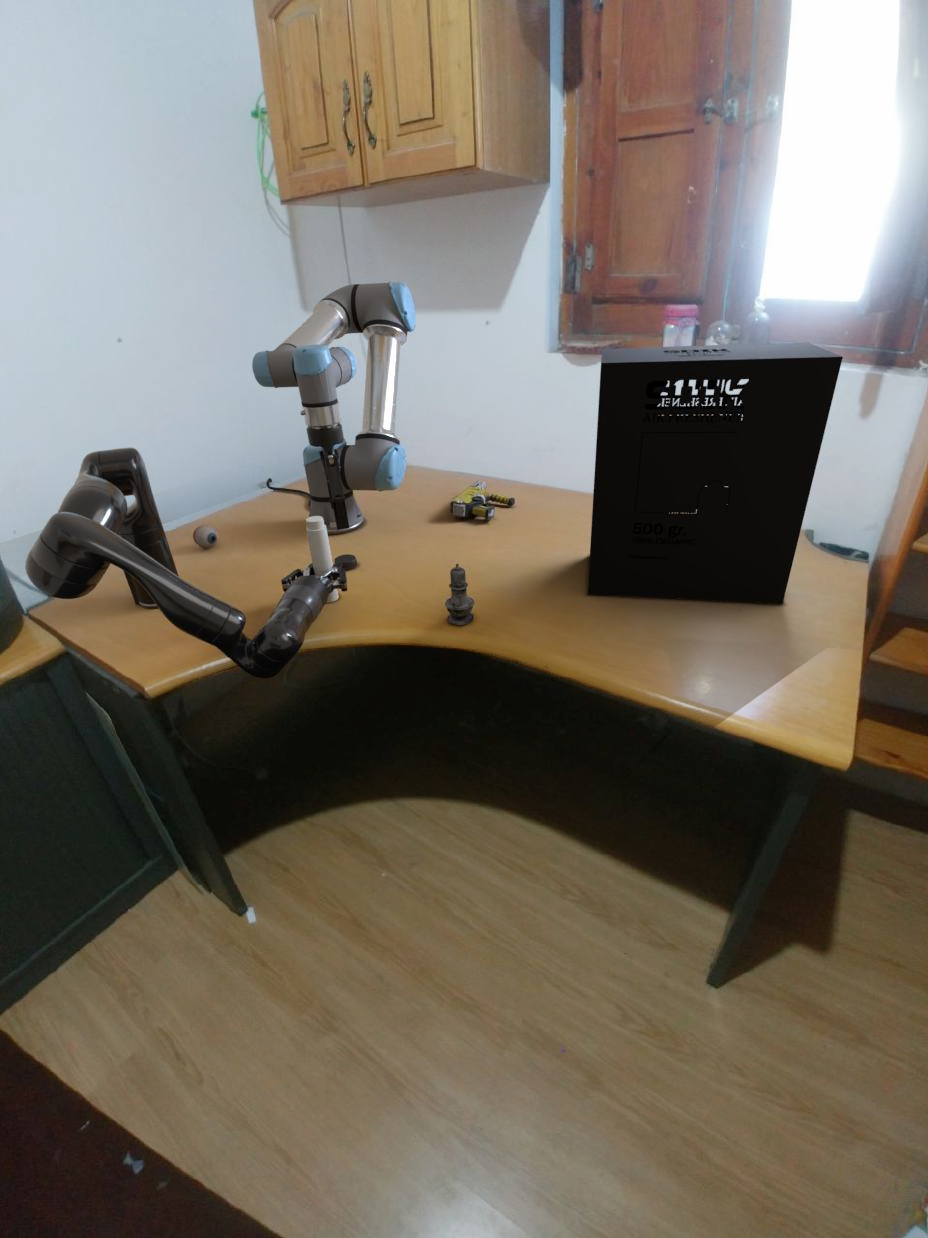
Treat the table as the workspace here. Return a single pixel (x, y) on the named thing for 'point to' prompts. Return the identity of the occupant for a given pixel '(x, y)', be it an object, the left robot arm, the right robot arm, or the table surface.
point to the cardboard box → (705, 469)
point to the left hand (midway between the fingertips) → (327, 565)
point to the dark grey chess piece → (459, 599)
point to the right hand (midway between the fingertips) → (340, 517)
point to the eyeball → (205, 536)
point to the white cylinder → (320, 549)
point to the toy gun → (477, 502)
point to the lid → (347, 561)
